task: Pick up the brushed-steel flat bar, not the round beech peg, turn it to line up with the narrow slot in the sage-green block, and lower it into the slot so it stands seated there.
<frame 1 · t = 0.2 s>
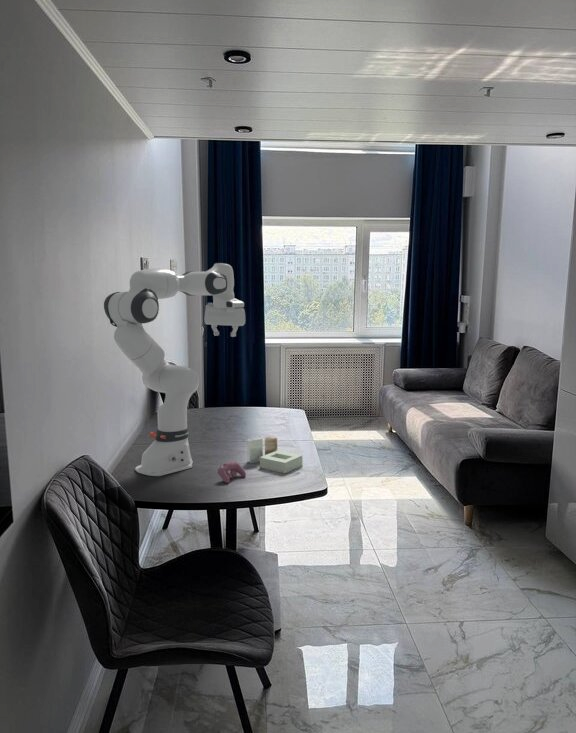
hand: (224, 336, 247), 47 cm above the table, tool pointing down, fingers open, 8 cm apart
video game controller: (231, 479, 212), on the table
round beech peg: (271, 457, 236), on the table
steel flat bar: (255, 461, 232), on the table
slot block: (281, 466, 225), on the table
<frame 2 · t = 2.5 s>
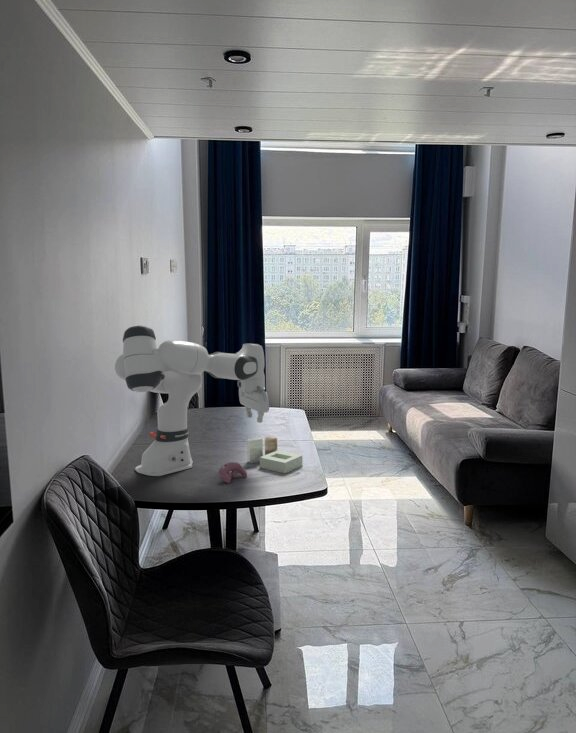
hand: (254, 419, 230), 17 cm above the table, tool pointing down, fingers open, 8 cm apart
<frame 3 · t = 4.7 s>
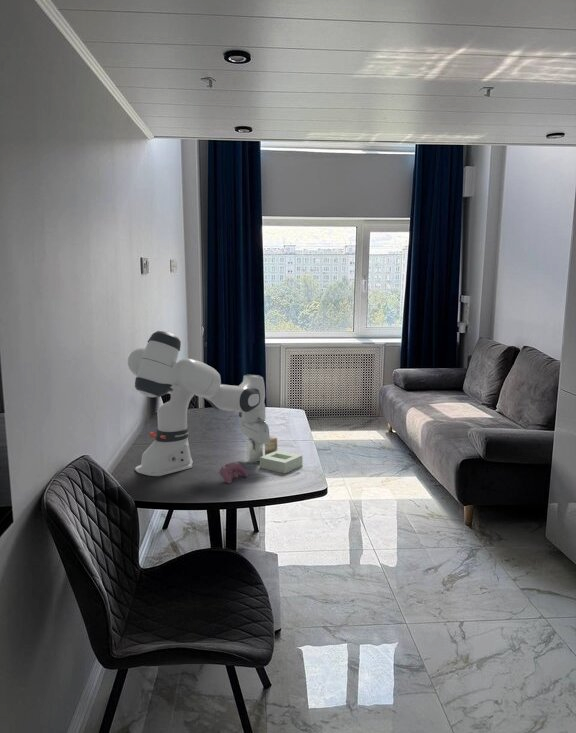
hand: (254, 449, 231), 5 cm above the table, tool pointing down, fingers closed on steel flat bar, 2 cm apart
steel flat bar: (255, 461, 232), on the table, touching gripper
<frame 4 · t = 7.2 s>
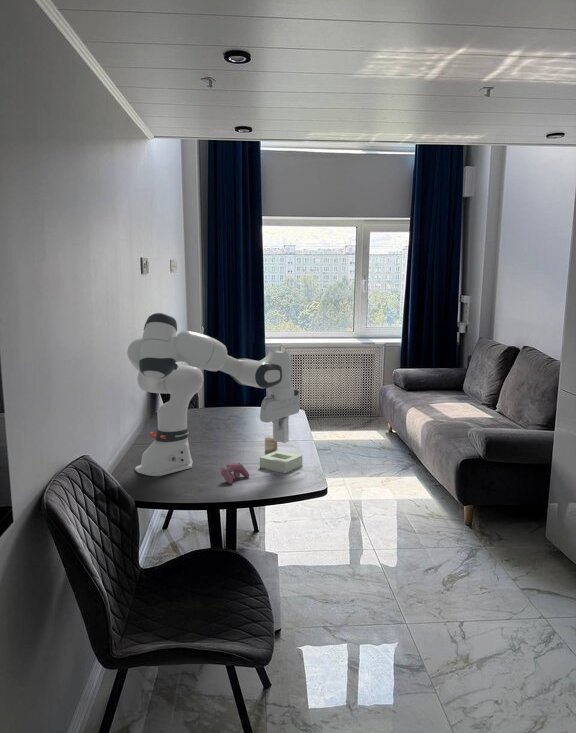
hand: (280, 429, 223), 15 cm above the table, tool pointing down, fingers closed on steel flat bar, 2 cm apart
steel flat bar: (280, 441, 223), point 10 cm above the table, touching gripper
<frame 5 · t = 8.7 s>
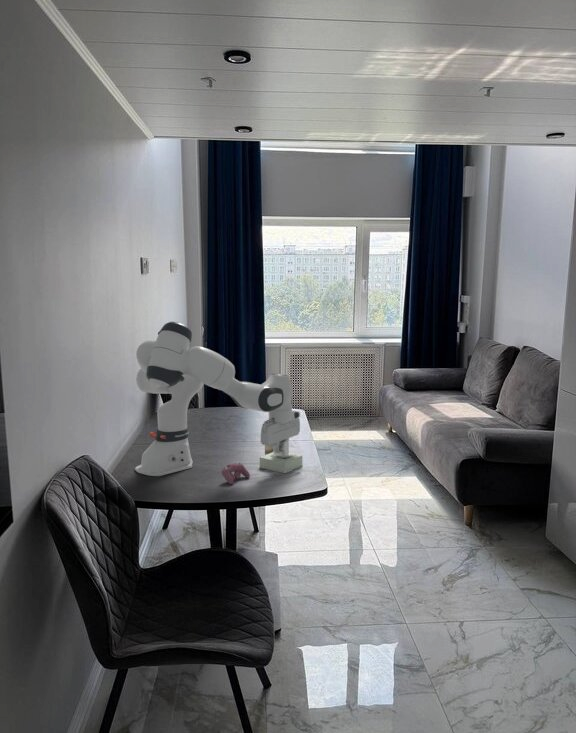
hand: (280, 451, 224), 6 cm above the table, tool pointing down, fingers closed on steel flat bar, 2 cm apart
steel flat bar: (281, 463, 225), point 1 cm above the table, touching gripper
when the fingers open (6 cm above the table, at t = 9.7 s): steel flat bar stays where it is, resting in slot block.
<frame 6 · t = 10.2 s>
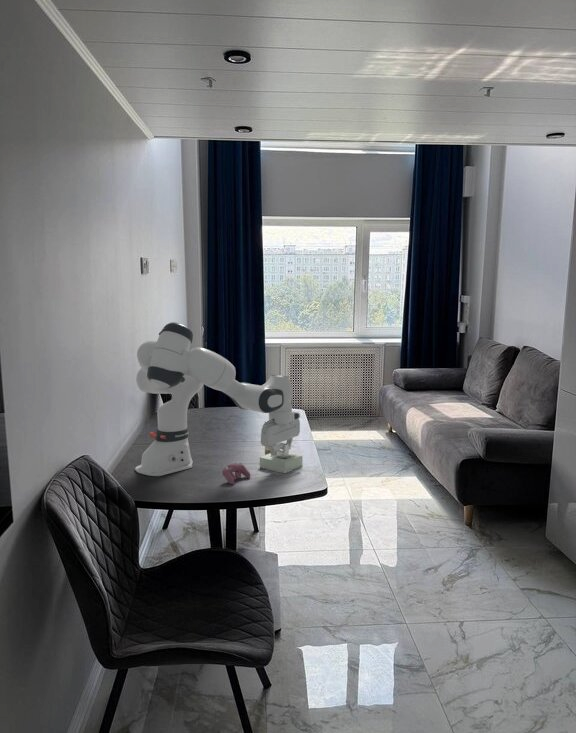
hand: (280, 452, 224), 6 cm above the table, tool pointing down, fingers open, 7 cm apart
steel flat bar: (281, 466, 225), resting in slot block
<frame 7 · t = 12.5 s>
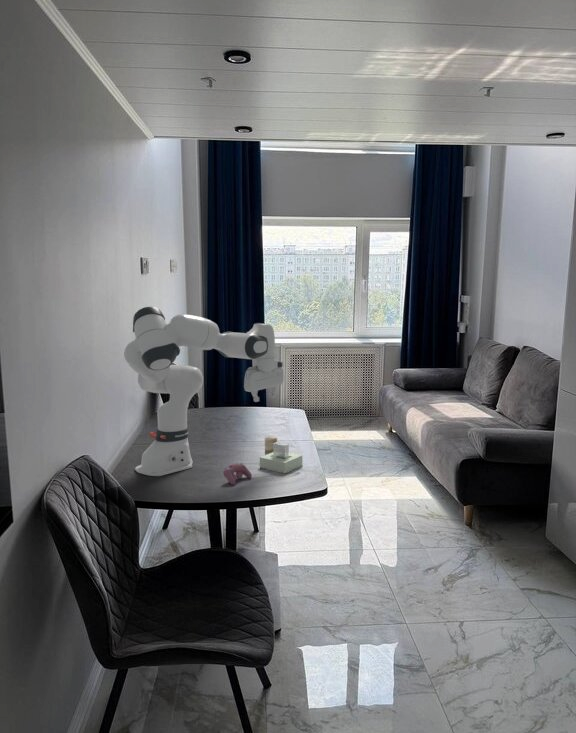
hand: (264, 399, 232), 24 cm above the table, tool pointing down, fingers open, 8 cm apart
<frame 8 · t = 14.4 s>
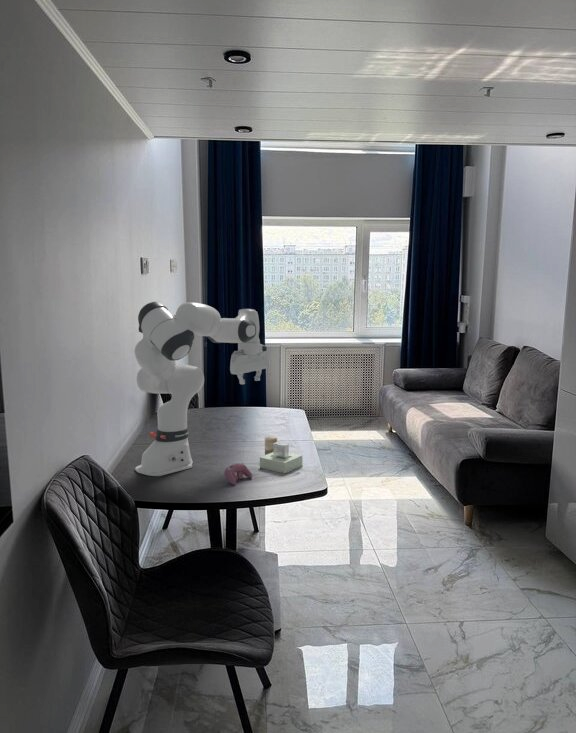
hand: (249, 382, 241), 29 cm above the table, tool pointing down, fingers open, 8 cm apart
at the end: steel flat bar 0.0 cm off-centre on the slot block, point 0.0 cm above the slot block's base; steel flat bar tilted 0°; round beech peg moved 0.0 cm from its start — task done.
